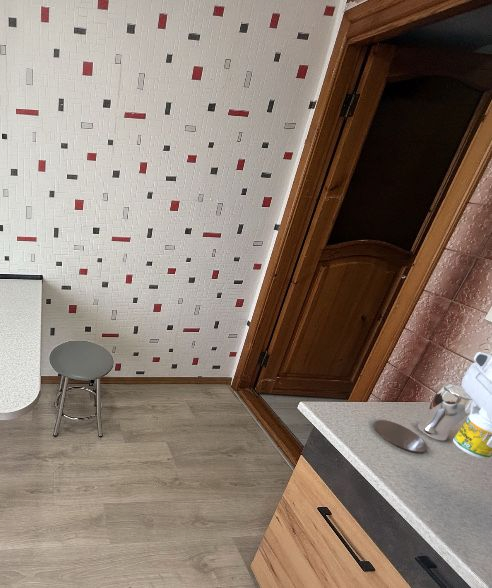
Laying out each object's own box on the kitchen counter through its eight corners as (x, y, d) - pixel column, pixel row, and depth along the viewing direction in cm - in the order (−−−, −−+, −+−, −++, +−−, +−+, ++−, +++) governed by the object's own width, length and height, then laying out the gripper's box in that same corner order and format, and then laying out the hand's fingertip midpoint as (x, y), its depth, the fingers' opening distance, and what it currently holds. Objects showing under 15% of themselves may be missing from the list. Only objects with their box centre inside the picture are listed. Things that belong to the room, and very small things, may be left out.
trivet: (417, 432, 94) (418, 430, 94) (432, 460, 85) (433, 458, 85) (369, 416, 99) (370, 414, 99) (379, 441, 90) (380, 439, 90)
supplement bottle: (496, 464, 65) (526, 428, 61) (460, 453, 67) (487, 417, 63) (479, 444, 70) (506, 409, 66) (446, 434, 72) (470, 400, 68)
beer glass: (426, 438, 92) (455, 396, 86) (409, 420, 99) (435, 380, 92) (455, 445, 91) (487, 402, 85) (436, 426, 97) (465, 386, 91)
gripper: (595, 421, 51) (538, 482, 57) (514, 358, 68) (476, 409, 74) (536, 405, 54) (488, 465, 59) (472, 348, 71) (439, 398, 76)
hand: (481, 433), depth 67 cm, fingers closed on supplement bottle, 5 cm apart
